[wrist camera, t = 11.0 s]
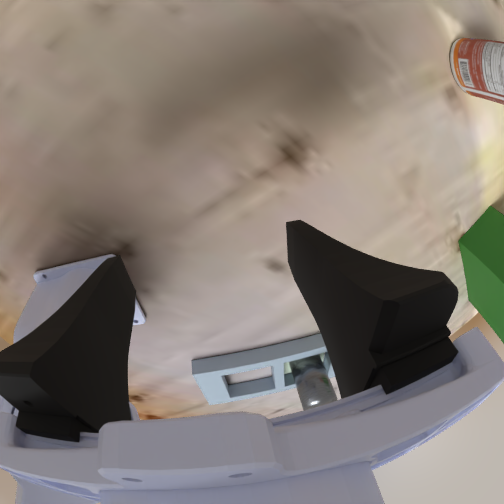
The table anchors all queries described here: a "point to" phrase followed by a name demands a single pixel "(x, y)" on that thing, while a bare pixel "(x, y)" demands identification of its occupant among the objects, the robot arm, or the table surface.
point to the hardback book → (486, 267)
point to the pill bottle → (479, 67)
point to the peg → (312, 382)
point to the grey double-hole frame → (276, 356)
